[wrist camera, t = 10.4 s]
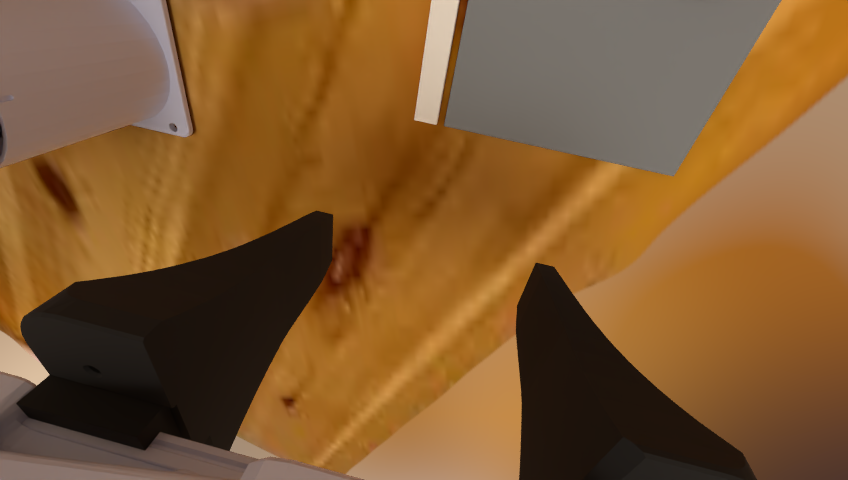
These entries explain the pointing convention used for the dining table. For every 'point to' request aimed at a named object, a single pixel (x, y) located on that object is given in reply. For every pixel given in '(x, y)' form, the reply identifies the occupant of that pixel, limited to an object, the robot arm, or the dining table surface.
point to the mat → (589, 72)
